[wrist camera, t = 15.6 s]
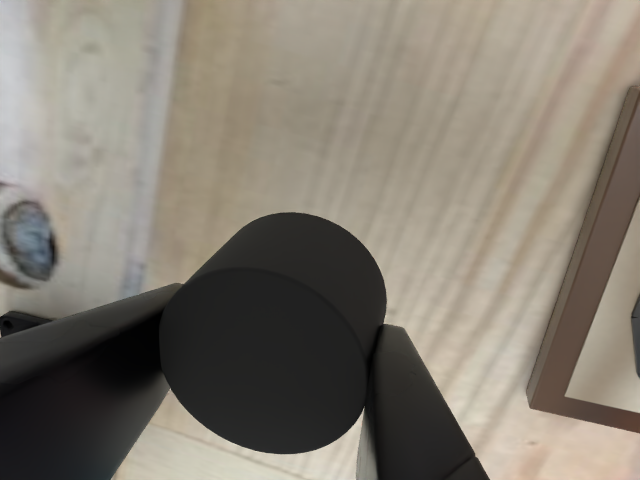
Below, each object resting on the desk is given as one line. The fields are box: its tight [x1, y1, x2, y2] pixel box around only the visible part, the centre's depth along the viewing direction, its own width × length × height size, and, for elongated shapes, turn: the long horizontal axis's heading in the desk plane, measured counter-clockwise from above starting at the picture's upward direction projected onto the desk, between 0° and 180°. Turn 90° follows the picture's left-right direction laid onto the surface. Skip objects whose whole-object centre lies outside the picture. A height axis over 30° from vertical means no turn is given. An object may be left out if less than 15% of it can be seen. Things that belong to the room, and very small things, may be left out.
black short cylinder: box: [159, 212, 387, 454], centre depth 9 cm, size 4×4×2 cm
